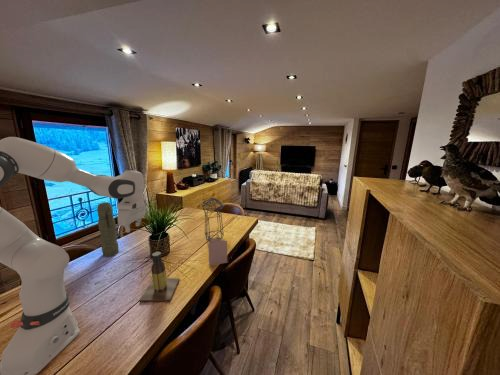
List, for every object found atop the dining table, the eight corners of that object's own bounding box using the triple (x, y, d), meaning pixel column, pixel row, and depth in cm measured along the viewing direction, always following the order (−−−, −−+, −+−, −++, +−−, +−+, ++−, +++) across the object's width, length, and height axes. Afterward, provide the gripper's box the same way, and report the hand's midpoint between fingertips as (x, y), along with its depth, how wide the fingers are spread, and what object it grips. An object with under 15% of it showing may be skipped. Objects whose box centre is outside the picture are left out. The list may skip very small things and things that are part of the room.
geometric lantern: (226, 243, 148) (225, 199, 140) (205, 247, 142) (203, 201, 134) (221, 234, 162) (220, 193, 154) (202, 237, 157) (200, 195, 148)
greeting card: (227, 261, 125) (227, 240, 122) (223, 268, 118) (222, 246, 115) (211, 258, 128) (211, 237, 125) (206, 265, 121) (205, 243, 118)
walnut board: (170, 301, 92) (169, 299, 92) (139, 302, 91) (139, 300, 91) (179, 280, 107) (179, 278, 107) (153, 280, 106) (152, 278, 106)
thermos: (109, 259, 125) (102, 206, 117) (98, 254, 129) (90, 204, 122) (123, 252, 132) (117, 203, 125) (112, 248, 137) (105, 200, 130)
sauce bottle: (168, 283, 102) (165, 249, 98) (166, 292, 96) (163, 256, 92) (154, 285, 101) (151, 250, 96) (152, 294, 95) (148, 257, 91)
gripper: (137, 198, 108) (137, 222, 110) (114, 206, 88) (114, 235, 90) (149, 199, 109) (148, 223, 111) (129, 207, 89) (128, 236, 90)
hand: (133, 228), depth 100 cm, fingers open, 8 cm apart
